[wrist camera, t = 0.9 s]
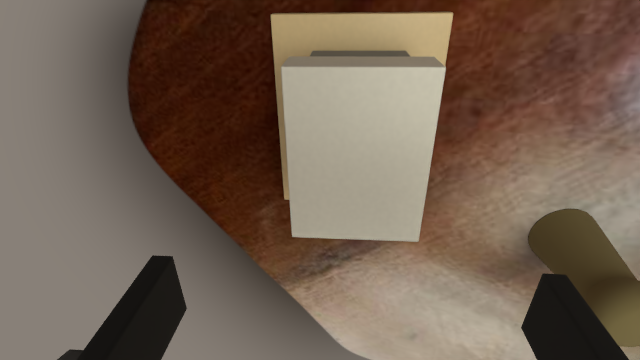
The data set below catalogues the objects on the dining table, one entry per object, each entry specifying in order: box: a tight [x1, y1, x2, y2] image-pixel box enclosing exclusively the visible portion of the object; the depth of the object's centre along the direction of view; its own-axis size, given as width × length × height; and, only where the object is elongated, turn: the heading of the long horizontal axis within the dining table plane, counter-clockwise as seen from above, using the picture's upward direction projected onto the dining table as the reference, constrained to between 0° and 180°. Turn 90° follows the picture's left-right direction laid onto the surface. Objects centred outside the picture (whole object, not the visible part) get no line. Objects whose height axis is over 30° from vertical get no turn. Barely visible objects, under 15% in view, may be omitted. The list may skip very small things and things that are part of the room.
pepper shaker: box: [528, 209, 640, 347], centre depth 30 cm, size 6×6×11 cm
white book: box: [281, 56, 446, 242], centre depth 24 cm, size 12×9×3 cm
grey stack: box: [271, 12, 453, 200], centre depth 27 cm, size 16×13×6 cm
